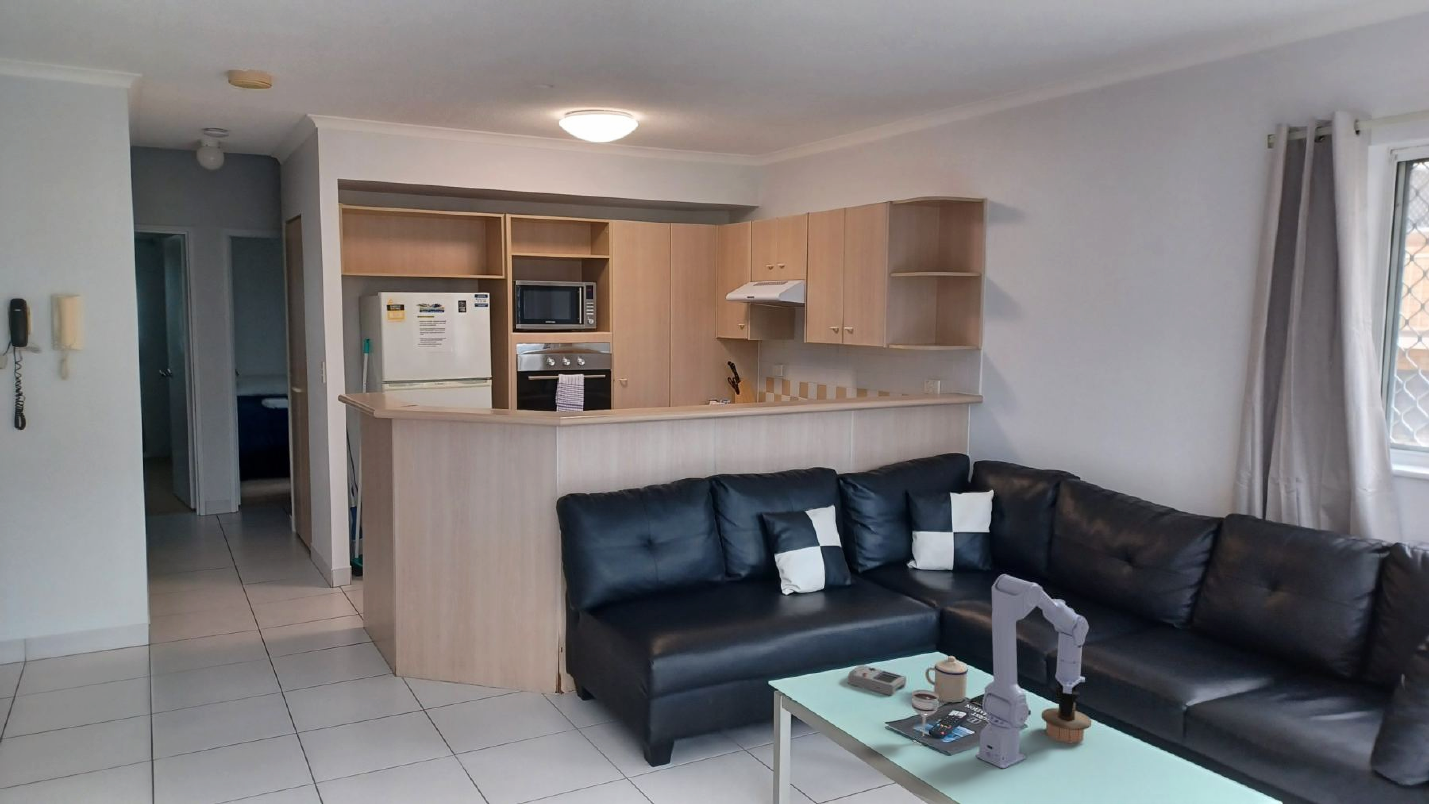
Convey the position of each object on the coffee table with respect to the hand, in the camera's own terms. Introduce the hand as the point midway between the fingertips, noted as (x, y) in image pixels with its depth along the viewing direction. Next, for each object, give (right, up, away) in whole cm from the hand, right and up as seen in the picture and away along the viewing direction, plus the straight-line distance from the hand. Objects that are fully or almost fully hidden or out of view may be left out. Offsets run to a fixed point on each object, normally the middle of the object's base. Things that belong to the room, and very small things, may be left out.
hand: (1065, 710), depth 245 cm
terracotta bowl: (0, -6, +1) cm, 6 cm away
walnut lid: (0, -2, 0) cm, 2 cm away
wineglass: (-38, -6, -5) cm, 39 cm away
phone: (-12, -5, +17) cm, 21 cm away
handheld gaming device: (-44, -3, +30) cm, 53 cm away
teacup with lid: (-25, -4, +24) cm, 35 cm away
